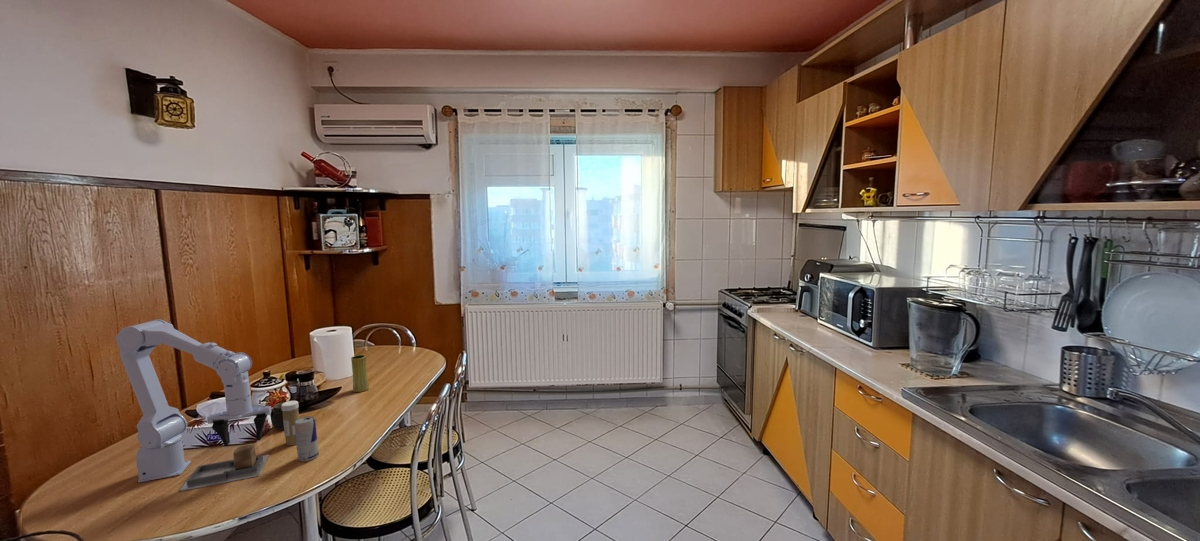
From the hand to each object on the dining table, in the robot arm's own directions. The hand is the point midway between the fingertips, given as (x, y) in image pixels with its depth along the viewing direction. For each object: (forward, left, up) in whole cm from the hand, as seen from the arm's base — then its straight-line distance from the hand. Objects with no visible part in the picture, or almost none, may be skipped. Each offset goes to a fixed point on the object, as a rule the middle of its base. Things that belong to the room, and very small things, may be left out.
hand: (243, 441), depth 136 cm
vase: (+27, +55, -9) cm, 62 cm away
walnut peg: (0, 0, -8) cm, 8 cm away
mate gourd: (+5, +28, -9) cm, 30 cm away
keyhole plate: (-3, 0, -8) cm, 9 cm away
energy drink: (+16, 0, -9) cm, 18 cm away
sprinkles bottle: (+10, +13, -9) cm, 18 cm away
